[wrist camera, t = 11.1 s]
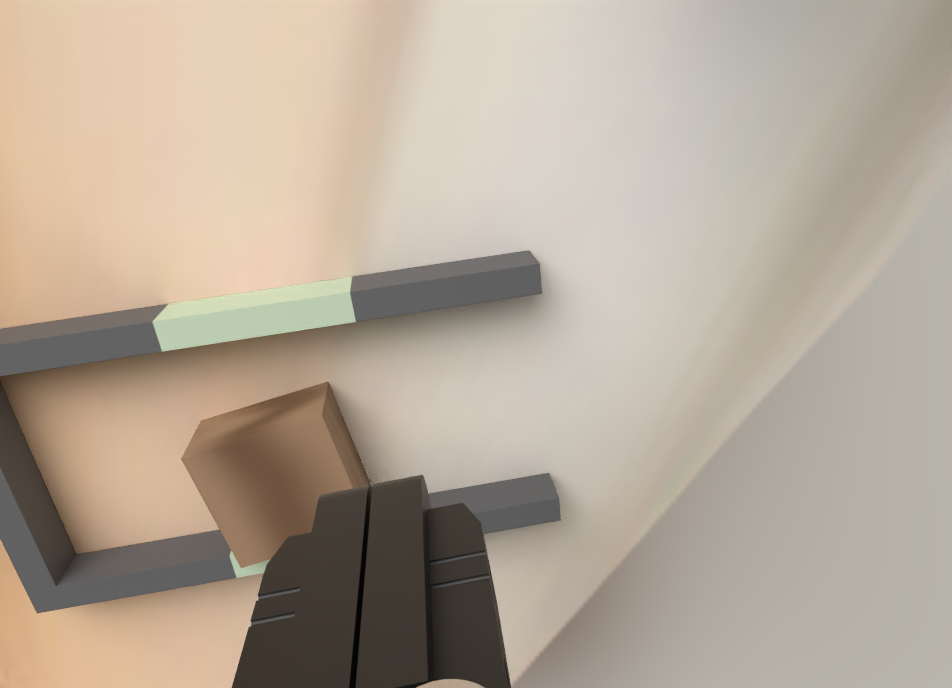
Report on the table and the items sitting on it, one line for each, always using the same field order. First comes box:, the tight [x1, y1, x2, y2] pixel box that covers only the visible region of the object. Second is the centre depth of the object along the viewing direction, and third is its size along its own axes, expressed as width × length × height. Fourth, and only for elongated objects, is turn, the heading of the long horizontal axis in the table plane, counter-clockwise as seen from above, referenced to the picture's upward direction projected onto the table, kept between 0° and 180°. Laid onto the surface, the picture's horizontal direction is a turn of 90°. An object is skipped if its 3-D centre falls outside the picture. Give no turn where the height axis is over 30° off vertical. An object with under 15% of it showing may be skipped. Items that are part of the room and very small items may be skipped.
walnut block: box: [181, 382, 371, 568], centre depth 35 cm, size 7×7×4 cm
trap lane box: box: [0, 251, 561, 613], centre depth 35 cm, size 28×15×2 cm, turn 97°
